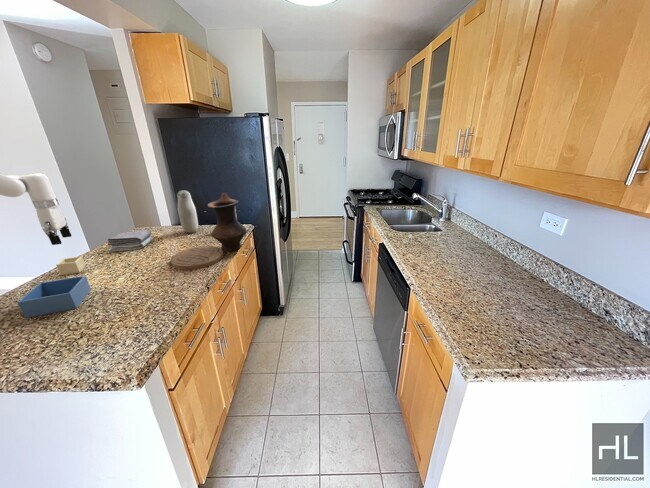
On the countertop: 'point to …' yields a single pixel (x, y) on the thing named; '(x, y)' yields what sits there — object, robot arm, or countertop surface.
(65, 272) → the cream bin
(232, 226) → the jug
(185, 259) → the trivet
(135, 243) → the towel
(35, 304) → the blue bin
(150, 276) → the countertop surface
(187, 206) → the white rounded column
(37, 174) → the robot arm
